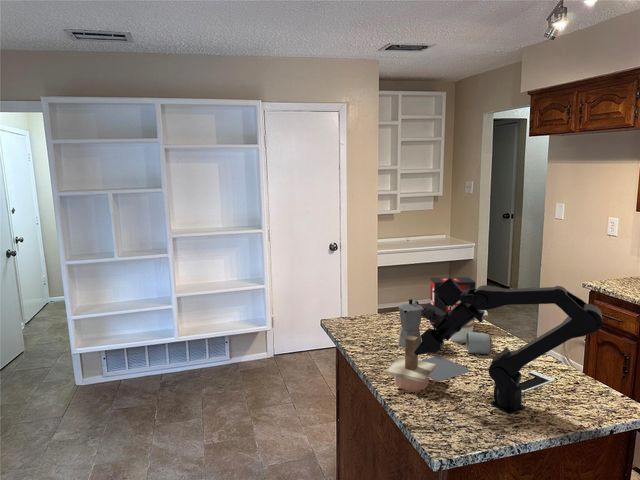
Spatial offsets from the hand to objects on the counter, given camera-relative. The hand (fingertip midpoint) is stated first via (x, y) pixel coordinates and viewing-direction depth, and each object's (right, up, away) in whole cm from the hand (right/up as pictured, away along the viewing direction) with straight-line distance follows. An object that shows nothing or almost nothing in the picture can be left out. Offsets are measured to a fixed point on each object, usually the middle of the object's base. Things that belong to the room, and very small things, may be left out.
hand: (420, 348), depth 135 cm
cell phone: (+34, -12, +4) cm, 36 cm away
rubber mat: (+9, -10, +14) cm, 19 cm away
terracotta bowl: (-2, -12, +3) cm, 12 cm away
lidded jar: (+24, -6, +40) cm, 47 cm away
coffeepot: (+5, -7, +36) cm, 37 cm away
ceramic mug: (+27, -8, +28) cm, 40 cm away
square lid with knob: (-2, -7, +2) cm, 8 cm away
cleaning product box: (+26, -4, +57) cm, 63 cm away
